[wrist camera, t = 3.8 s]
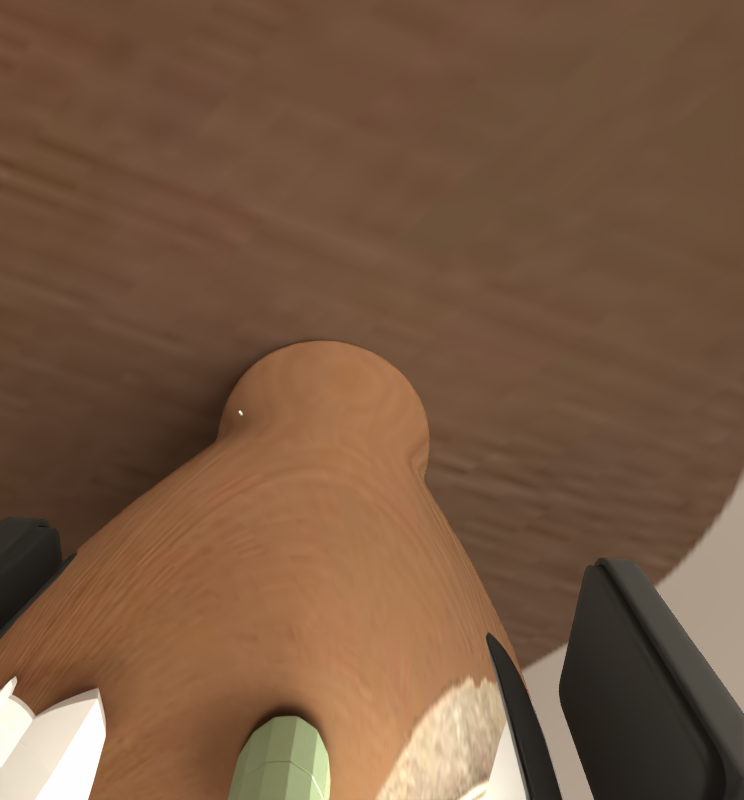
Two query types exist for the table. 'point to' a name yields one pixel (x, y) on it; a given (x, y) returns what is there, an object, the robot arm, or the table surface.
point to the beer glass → (275, 621)
